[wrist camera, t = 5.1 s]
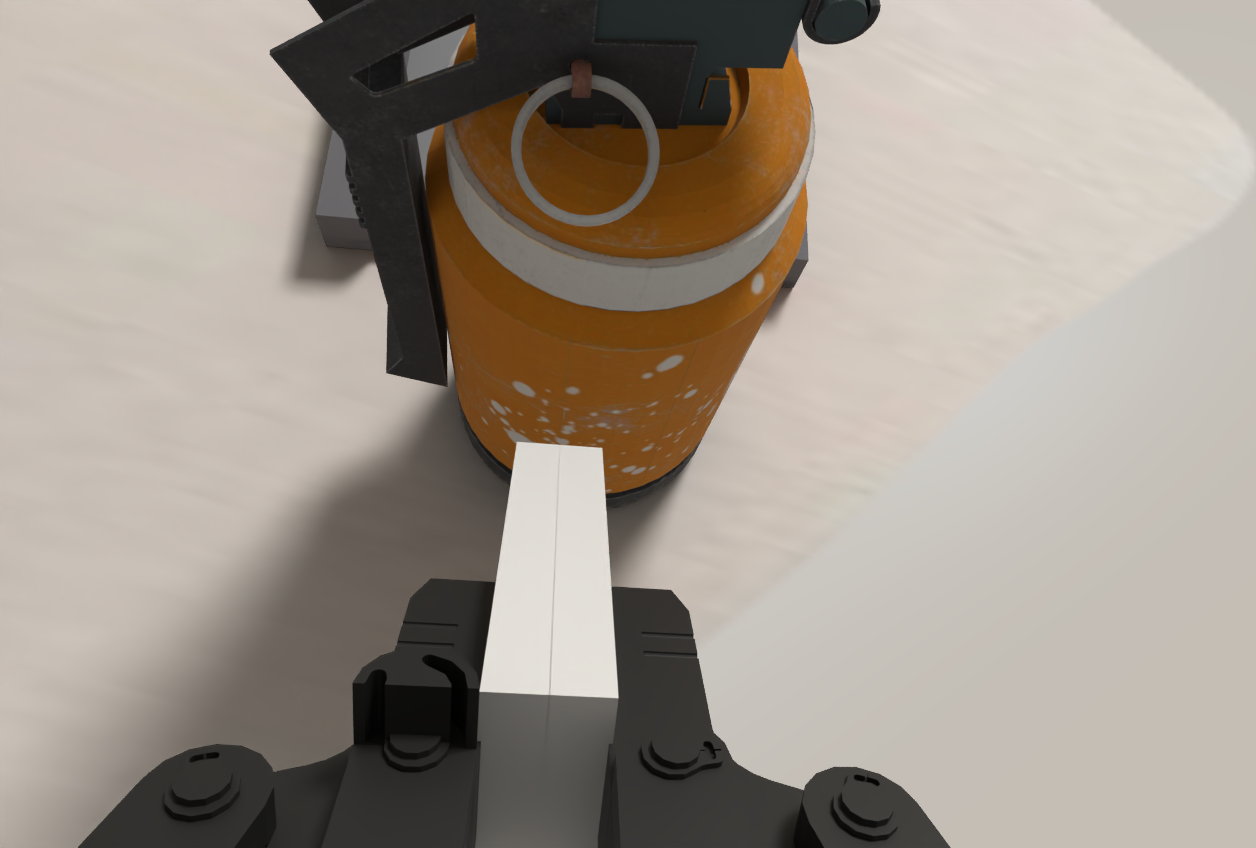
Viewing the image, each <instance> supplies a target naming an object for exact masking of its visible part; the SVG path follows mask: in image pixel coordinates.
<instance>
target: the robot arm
mask: <svg viewBox="0 0 1256 848" xmlns="http://www.w3.org/2000/svg"><path fill="white" fill-rule="evenodd" d="M693 635H694V634H693V629H692V624H691V619H690V614H689V611H688V609H687V608H686V607H685V606H684V605H683V604H682V602H681V601H680V600H679V599H678V598H677V596H676V595H675V594H674V593H673V592H672V591H671V590H662V589H645V588H628V587H611V575H610V559H609V544H608V529H607V513H606V498H605V482H604V467H603V452H602V448H596V447H582V446H569V445H555V444H541V443H527V442H517V444H516V451H515V458H514V465H513V471H512V478H511V485H510V491H509V498H508V505H507V511H506V518H505V525H504V531H503V538H502V545H501V551H500V558H499V565H498V571H497V578H496V582H482V581H465V580H448V579H430V580H429V581H428V582H427V583H426V584H425V585H424V586H423V587H422V588H420V589H419V590H418V591H417V592H416V593H415V594H414V595H413V596H412V597H411V598H410V601H409V604H408V608H407V611H406V614H405V618H404V621H403V626H402V628H401V631H400V634H399V638H398V643H397V646H396V648H395V651H394V652H391V653H388V654H384V655H381V656H379V657H378V658H376V659H375V660H373V661H372V662H370V663H369V664H367V665H366V666H364V667H363V668H362V670H361V671H360V673H359V674H358V676H357V677H356V679H355V680H354V682H353V731H354V744H353V745H352V746H351V747H349V748H348V749H347V750H345V751H344V752H342V753H339V754H337V755H335V756H333V757H331V758H329V759H327V760H324V761H320V762H317V763H313V764H310V765H306V766H301V767H296V768H291V769H286V770H281V771H276V772H273V770H272V767H271V766H270V765H269V763H268V762H267V761H266V760H265V759H264V757H263V756H262V755H261V754H259V753H257V752H255V751H252V750H250V749H248V748H245V747H243V746H236V745H221V744H216V745H210V746H205V747H200V748H194V749H190V750H188V751H185V752H183V753H181V754H179V755H176V756H174V757H172V758H170V759H167V760H165V761H164V762H162V763H161V764H160V765H159V766H157V767H156V768H155V769H153V770H152V771H151V772H150V773H148V774H147V775H146V776H145V777H143V778H142V780H141V781H140V782H139V783H138V784H137V785H136V786H135V787H134V788H133V789H132V790H131V791H130V792H129V793H128V794H127V796H126V797H125V798H124V799H123V800H122V801H121V802H120V803H119V804H118V805H117V806H116V807H115V808H114V809H113V810H112V812H111V813H110V814H109V815H108V816H107V817H106V818H105V819H104V820H103V821H102V822H101V823H100V824H99V825H98V827H97V828H96V829H95V830H94V831H93V832H92V833H91V834H90V835H89V836H88V837H87V838H86V839H85V840H84V841H83V843H82V844H81V845H80V846H79V847H78V848H950V846H949V845H948V844H947V842H946V841H945V840H944V838H943V837H942V836H941V834H940V833H939V832H938V830H937V829H936V827H935V826H934V825H933V824H932V822H931V821H930V820H929V818H928V817H927V815H926V814H925V813H924V811H923V810H922V809H921V807H920V806H919V805H918V803H917V802H916V801H915V800H914V799H913V798H912V797H911V796H910V795H909V794H908V793H907V792H906V791H905V790H904V789H903V788H902V787H901V786H899V785H897V784H896V783H894V782H892V781H891V780H889V779H887V778H885V777H884V776H882V775H880V774H878V773H874V772H871V771H867V770H864V769H861V768H857V767H833V768H830V769H827V770H824V771H822V772H819V773H816V774H815V775H814V777H813V778H812V779H811V780H810V781H809V782H808V783H807V784H806V785H805V789H804V790H801V789H798V788H794V787H791V786H787V785H784V784H781V783H778V782H774V781H771V780H768V779H766V778H763V777H761V776H758V775H755V774H753V773H751V772H750V771H748V770H746V769H745V768H743V767H741V766H740V765H738V764H737V763H736V762H734V760H733V759H732V757H731V755H730V753H729V751H728V749H727V747H726V745H725V743H724V742H723V741H722V740H721V739H720V738H719V737H718V736H717V735H716V734H714V732H713V730H712V725H711V720H710V715H709V710H708V704H707V699H706V694H705V689H704V685H703V679H702V674H701V669H700V664H699V659H698V658H697V649H696V644H695V639H693Z"/></svg>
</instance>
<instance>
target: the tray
mask: <svg viewBox="0 0 1256 848" xmlns="http://www.w3.org/2000/svg"><path fill="white" fill-rule="evenodd" d="M469 26H470V25H468V26H466V27H464V28H461V29H459V30H456V31H454V32H452V33H449V34H447V35H445V36H442V37H440V38H438V39H435V40H433V41H430V42H428V43H426V44H423V45H421V46H419V47H416V48H414V49H411V50H409V51H407V52H404V57H405V64H406V70H407V76H408V81H411V80H414V79H417V78H420V77H422V76H425V75H428V74H431V73H434V72H436V71H439V70H442V69H445V68H448V65H449V62H450V59H451V56H452V55H453V53H454V51H455V49H456V47H457V45H458V43H459V42H460V40H461V38H462V36H463V35H464V34H465V33H466V31H467V30H468V28H469ZM791 47H792V48H793V50H794V53H795V55H796V57H797V59H798V40H797V32H796V34H795V37H794V40H793V43H792V45H791ZM798 61H799V60H798ZM435 128H436V127H434V128H432V129H429V130H427V131H424V132H421V133H419V134H417V139H418V145H419V151H420V157H421V164H422V170H423V176H424V182H425V172H426V162H427V153H428V150H429V146H430V143H431V140H432V137H433V133H434V130H435ZM345 166H346V153H345V149H344V146H343V142H342V139H341V138H340V137H339V136H338V134H337V133H336V132H335V131H334V130H333V129H332V134H331V139H330V144H329V149H328V154H327V159H326V164H325V169H324V174H323V179H322V184H321V189H320V194H319V199H318V204H317V209H316V214H315V215H316V218H317V221H318V223H319V226H320V229H321V232H322V235H323V237H324V240H325V243H326V246H331V247H343V248H354V249H365V250H372V247H371V243H370V239H369V236H368V232H367V229H362V228H361V227H360V225H359V217H358V216H357V214H356V211H355V207H356V206H355V205H354V204H353V200H352V194H351V193H350V190H349V182H348V181H347V179H346V176H345ZM425 189H426V187H425ZM807 262H808V241H807V221H806V229H805V232H804V236H803V239H802V243H801V246H800V249H799V253H798V255H797V257H796V259H795V261H794V262H793V264H792V266H791V268H790V270H789V272H788V274H787V276H786V278H785V280H784V282H783V284H782V286H781V287H792V288H794V286H795V284H796V282H797V280H798V278H799V277H800V275H801V273H802V271H803V269H804V267H805V265H806V264H807Z"/></svg>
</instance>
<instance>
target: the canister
mask: <svg viewBox="0 0 1256 848" xmlns="http://www.w3.org/2000/svg"><path fill="white" fill-rule="evenodd" d="M308 1H309V3H310V4H311V5H312V7H313V8H314V9H315V11H316V12H317V13H318V15H319V16H320V17H321V19H322V20H323V22H322V23H320V24H319V25H317V26H315V27H313V28H311V29H309V30H307V31H305V32H303V33H301V34H300V35H298V36H296V37H294V38H292V39H290V40H288V41H286V42H284V43H282V44H281V45H279V46H277V47H275V48H273V49H271V50H270V55H271V57H272V58H273V59H274V60H275V61H276V62H277V64H278V65H279V66H280V67H281V68H282V70H283V71H284V72H285V73H286V74H287V75H288V77H289V78H290V79H291V80H292V81H293V83H294V84H295V85H296V86H297V87H298V88H299V90H300V91H301V92H302V93H303V94H304V96H305V97H306V98H307V99H308V100H309V101H310V103H311V104H312V105H313V106H314V107H315V108H316V110H317V111H318V112H319V113H320V114H321V116H322V117H323V118H324V119H325V120H326V121H327V123H328V124H329V125H330V126H331V127H332V129H333V130H334V131H335V132H336V133H337V134H338V136H339V137H340V138H341V139H342V142H343V146H344V149H345V153H346V166H345V176H346V179H347V181H348V182H349V190H350V193H351V194H352V200H353V204H354V205H355V206H356V207H355V211H356V214H357V216H358V217H359V225H360V227H361V228H362V229H367V232H368V236H369V239H370V243H371V247H372V250H373V254H374V257H375V261H376V265H377V268H378V272H379V276H380V279H381V283H382V286H383V290H384V294H385V297H386V301H387V304H388V315H387V364H386V373H388V374H393V375H397V376H401V377H406V378H410V379H415V380H419V381H424V382H428V383H432V384H437V385H441V386H446V387H447V331H448V337H449V343H450V349H451V355H452V361H453V368H454V374H455V380H456V386H457V392H458V398H459V405H460V411H461V415H462V418H463V422H464V425H465V429H466V431H467V433H468V435H469V437H470V439H471V442H472V444H473V446H474V447H475V449H476V450H477V452H478V453H479V455H480V456H481V457H482V459H483V460H484V462H485V463H486V464H487V465H488V466H489V467H490V468H491V469H492V470H493V471H494V472H495V473H496V474H497V475H498V476H499V477H500V478H501V479H503V480H504V481H505V482H507V483H508V484H509V485H511V478H512V471H513V465H514V458H515V451H516V444H517V442H527V443H541V444H555V445H569V446H582V447H596V448H602V452H603V467H604V482H605V498H606V508H613V507H618V506H621V505H625V504H628V503H632V502H635V501H637V500H640V499H642V498H644V497H646V496H648V495H650V494H652V493H654V492H656V491H657V490H658V489H660V488H661V487H663V486H664V485H666V484H667V483H669V482H670V481H671V480H672V479H673V478H674V477H675V476H676V475H677V474H678V473H679V472H680V471H682V470H683V468H684V467H685V466H686V464H687V463H688V462H689V460H690V459H691V458H692V456H693V455H694V453H695V451H696V450H697V448H698V446H699V444H700V442H701V440H702V438H703V436H704V434H705V432H706V430H707V428H708V426H709V425H710V423H711V421H712V419H713V417H714V415H715V413H716V411H717V409H718V407H719V405H720V403H721V401H722V399H723V398H724V396H725V394H726V392H727V390H728V388H729V386H730V384H731V382H732V380H733V378H734V376H735V374H736V372H737V371H738V369H739V367H740V365H741V363H742V361H743V359H744V357H745V355H746V353H747V351H748V349H749V347H750V346H751V344H752V342H753V340H754V338H755V336H756V334H757V332H758V330H759V328H760V326H761V324H762V322H763V320H764V319H765V317H766V315H767V313H768V311H769V309H770V307H771V305H772V303H773V301H774V299H775V297H776V295H777V293H778V292H779V290H780V288H781V286H782V284H783V282H784V280H785V278H786V276H787V274H788V272H789V270H790V268H791V266H792V264H793V262H794V261H795V259H796V257H797V255H798V253H799V249H800V246H801V243H802V239H803V236H804V232H805V229H806V218H807V207H808V201H807V191H806V177H807V174H808V171H809V167H810V164H811V161H812V157H813V152H814V141H815V124H814V114H813V107H812V104H811V100H810V97H809V91H808V87H807V83H806V80H805V76H804V73H803V69H802V67H801V65H800V63H799V61H798V59H797V57H796V55H795V53H794V50H793V48H792V47H791V45H792V43H793V40H794V37H795V34H796V32H797V29H798V26H799V23H800V21H801V19H802V24H803V29H804V31H805V33H806V34H807V36H808V37H809V38H811V39H812V40H814V41H816V42H818V43H822V44H839V43H844V42H847V41H850V40H852V39H854V38H856V37H858V36H860V35H861V34H863V33H864V32H865V31H866V30H868V29H869V28H870V27H871V26H872V24H873V23H874V22H875V20H876V19H877V17H878V14H879V12H880V6H881V5H880V1H879V0H308ZM468 25H470V26H469V28H468V30H467V31H466V33H465V34H464V35H463V36H462V38H461V40H460V42H459V43H458V45H457V47H456V49H455V51H454V53H453V55H452V56H451V59H450V62H449V65H448V68H445V69H442V70H439V71H436V72H434V73H431V74H428V75H425V76H422V77H420V78H417V79H414V80H411V81H408V76H407V70H406V64H405V57H404V52H407V51H409V50H411V49H414V48H416V47H419V46H421V45H423V44H426V43H428V42H430V41H433V40H435V39H438V38H440V37H442V36H445V35H447V34H449V33H452V32H454V31H456V30H459V29H461V28H464V27H466V26H468ZM434 127H436V128H435V130H434V133H433V137H432V140H431V143H430V146H429V150H428V153H427V162H426V172H425V182H424V176H423V170H422V164H421V157H420V151H419V145H418V139H417V134H419V133H421V132H424V131H427V130H429V129H432V128H434ZM425 187H426V189H425Z"/></svg>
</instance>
